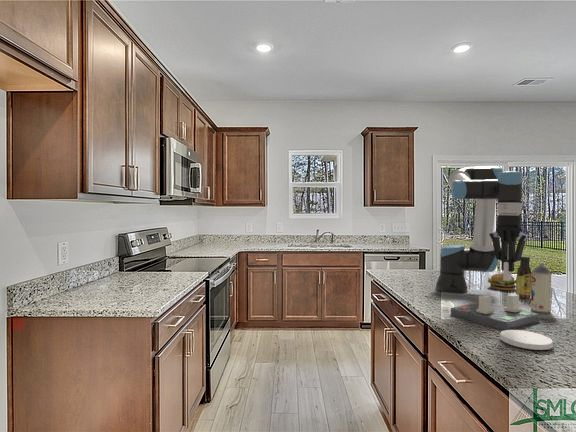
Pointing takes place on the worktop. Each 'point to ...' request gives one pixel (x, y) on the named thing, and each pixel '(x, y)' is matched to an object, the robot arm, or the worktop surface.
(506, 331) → the plastic lid
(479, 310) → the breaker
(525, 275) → the sauce bottle
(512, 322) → the breaker box
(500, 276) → the food
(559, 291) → the worktop surface
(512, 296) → the lever
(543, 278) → the aerosol can
